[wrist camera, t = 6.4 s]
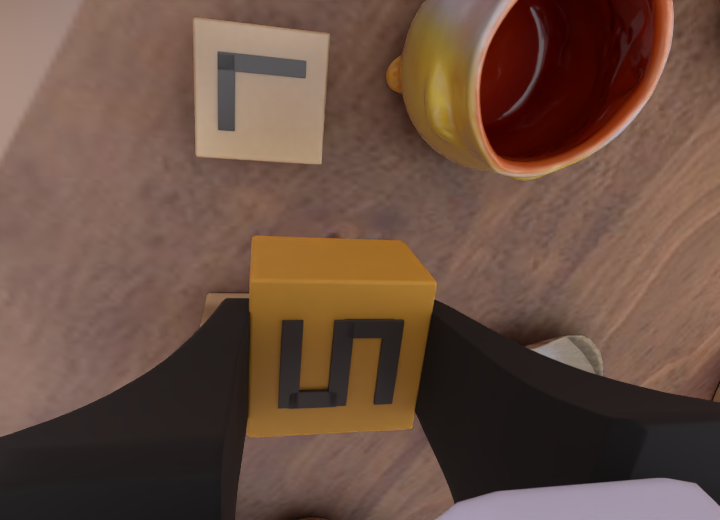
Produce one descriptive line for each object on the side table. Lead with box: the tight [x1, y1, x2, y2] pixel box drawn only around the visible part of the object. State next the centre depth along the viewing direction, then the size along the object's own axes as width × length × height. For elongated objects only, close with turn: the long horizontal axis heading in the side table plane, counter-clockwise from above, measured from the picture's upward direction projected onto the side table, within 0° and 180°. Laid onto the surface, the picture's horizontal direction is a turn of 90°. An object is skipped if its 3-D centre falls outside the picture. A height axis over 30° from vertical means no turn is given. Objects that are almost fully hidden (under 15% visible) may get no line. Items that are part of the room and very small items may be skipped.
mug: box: [386, 0, 674, 181], centre depth 15 cm, size 12×7×7 cm, turn 138°
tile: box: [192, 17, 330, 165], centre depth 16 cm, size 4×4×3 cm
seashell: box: [524, 335, 604, 376], centre depth 24 cm, size 8×3×8 cm
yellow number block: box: [247, 236, 437, 438], centre depth 12 cm, size 4×4×3 cm
